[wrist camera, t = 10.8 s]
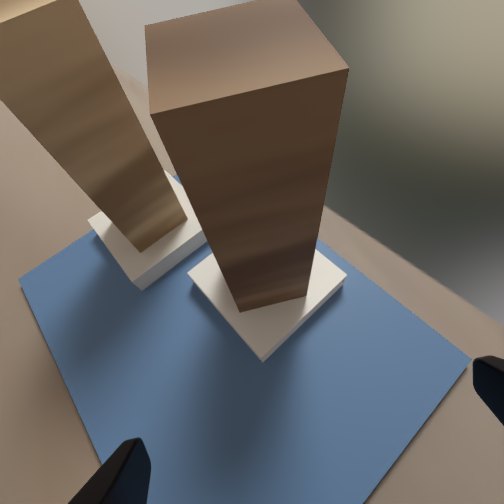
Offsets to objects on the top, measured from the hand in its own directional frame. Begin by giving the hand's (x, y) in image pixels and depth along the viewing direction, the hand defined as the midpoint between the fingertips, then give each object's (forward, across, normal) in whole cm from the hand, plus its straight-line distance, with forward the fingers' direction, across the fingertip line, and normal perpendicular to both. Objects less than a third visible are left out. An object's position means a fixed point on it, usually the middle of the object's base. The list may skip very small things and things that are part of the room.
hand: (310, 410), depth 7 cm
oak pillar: (+15, +7, -5) cm, 17 cm away
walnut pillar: (+10, 0, 0) cm, 10 cm away
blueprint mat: (+11, +4, +2) cm, 12 cm away
